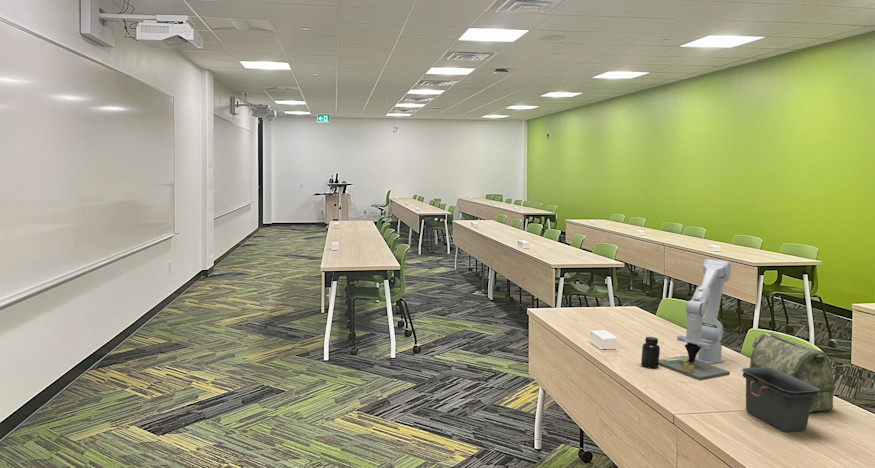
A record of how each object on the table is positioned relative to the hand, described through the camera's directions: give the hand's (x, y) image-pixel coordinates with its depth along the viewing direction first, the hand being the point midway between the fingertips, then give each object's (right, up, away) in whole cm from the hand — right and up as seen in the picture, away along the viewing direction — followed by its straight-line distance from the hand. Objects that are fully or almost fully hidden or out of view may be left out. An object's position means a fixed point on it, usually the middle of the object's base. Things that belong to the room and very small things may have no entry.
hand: (691, 361), depth 234 cm
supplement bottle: (-17, -3, +2) cm, 17 cm away
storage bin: (+4, -8, -50) cm, 51 cm away
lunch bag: (+21, -7, -30) cm, 37 cm away
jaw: (-1, 0, +2) cm, 2 cm away
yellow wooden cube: (-4, -2, -7) cm, 9 cm away
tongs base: (0, -3, +1) cm, 3 cm away
